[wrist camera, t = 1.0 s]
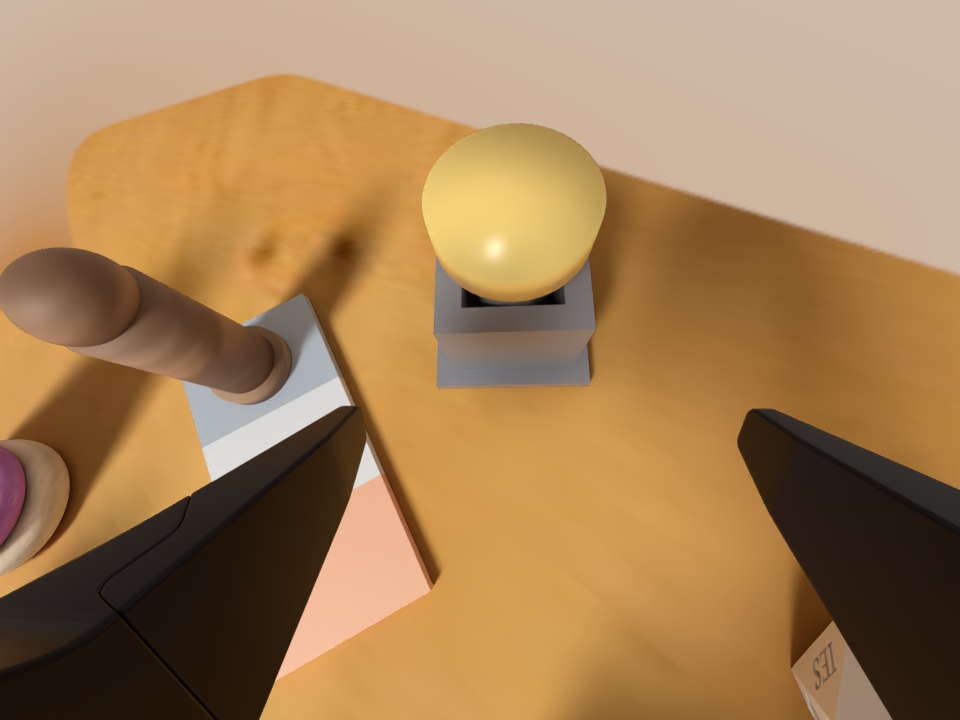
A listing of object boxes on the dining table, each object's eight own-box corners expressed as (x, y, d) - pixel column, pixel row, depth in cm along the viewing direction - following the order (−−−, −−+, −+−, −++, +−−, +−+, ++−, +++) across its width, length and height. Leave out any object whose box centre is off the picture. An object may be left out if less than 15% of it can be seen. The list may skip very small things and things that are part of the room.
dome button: (575, 346, 19) (616, 274, 12) (451, 349, 19) (418, 281, 12) (566, 237, 20) (597, 117, 13) (453, 242, 21) (425, 129, 14)
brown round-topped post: (280, 408, 22) (47, 351, 11) (208, 400, 23) (-87, 337, 11) (300, 334, 23) (109, 214, 12) (231, 328, 24) (-14, 207, 13)
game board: (433, 585, 20) (430, 590, 19) (279, 674, 19) (270, 683, 18) (308, 298, 25) (302, 293, 24) (186, 360, 24) (175, 357, 24)
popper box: (587, 385, 22) (622, 351, 15) (439, 388, 23) (410, 356, 16) (576, 253, 24) (601, 173, 18) (442, 259, 25) (418, 184, 18)
